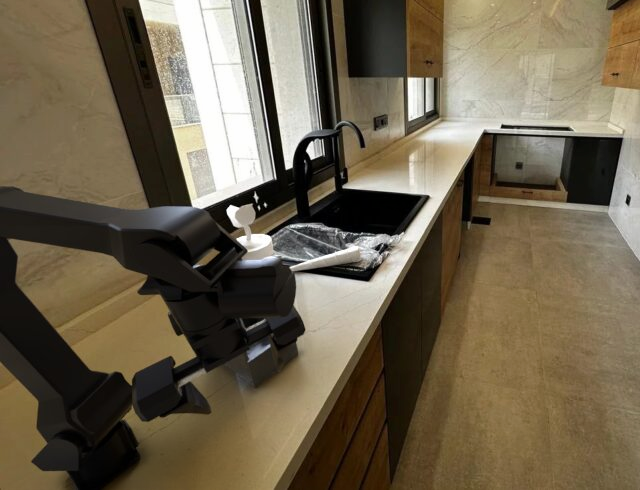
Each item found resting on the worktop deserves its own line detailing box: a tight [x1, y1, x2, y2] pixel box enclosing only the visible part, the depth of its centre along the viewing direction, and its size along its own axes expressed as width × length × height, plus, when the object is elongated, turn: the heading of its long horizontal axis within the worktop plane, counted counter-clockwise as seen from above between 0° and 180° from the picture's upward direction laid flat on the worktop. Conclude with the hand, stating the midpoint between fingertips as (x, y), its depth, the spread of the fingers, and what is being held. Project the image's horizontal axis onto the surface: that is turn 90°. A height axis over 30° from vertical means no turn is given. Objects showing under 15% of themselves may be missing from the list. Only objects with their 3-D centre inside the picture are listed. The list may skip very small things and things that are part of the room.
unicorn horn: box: [288, 245, 362, 272], centre depth 98 cm, size 5×24×5 cm, turn 106°
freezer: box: [223, 318, 299, 389], centre depth 66 cm, size 10×15×6 cm, turn 58°
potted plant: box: [226, 192, 275, 260], centre depth 91 cm, size 13×12×25 cm
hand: (246, 389), depth 46 cm, fingers open, 9 cm apart
